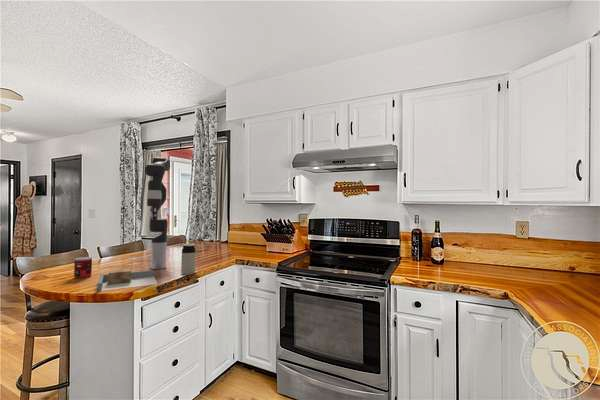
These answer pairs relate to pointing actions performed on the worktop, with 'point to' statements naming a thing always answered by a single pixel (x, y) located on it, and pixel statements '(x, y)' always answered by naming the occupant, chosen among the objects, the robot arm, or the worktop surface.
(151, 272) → the tray
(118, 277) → the walnut block
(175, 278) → the worktop surface
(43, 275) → the worktop surface
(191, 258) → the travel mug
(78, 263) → the canned food
